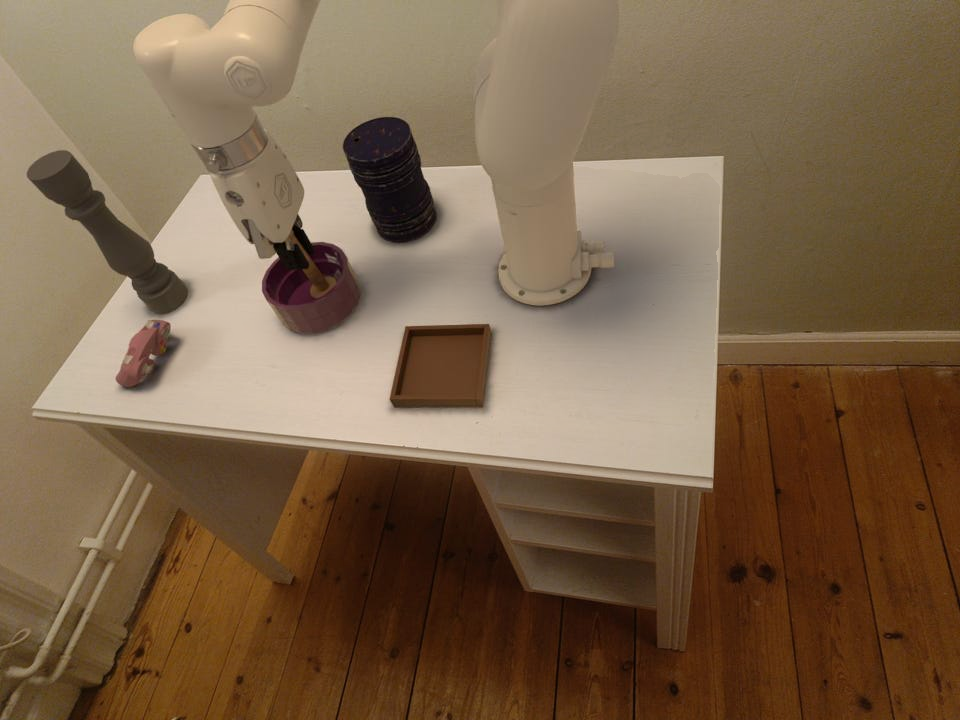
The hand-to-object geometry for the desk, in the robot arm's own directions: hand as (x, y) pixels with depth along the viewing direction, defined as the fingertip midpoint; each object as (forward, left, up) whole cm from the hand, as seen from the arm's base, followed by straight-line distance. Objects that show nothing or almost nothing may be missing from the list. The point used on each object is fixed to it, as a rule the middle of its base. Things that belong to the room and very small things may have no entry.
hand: (300, 259), depth 81 cm
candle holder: (+27, -2, -9) cm, 28 cm away
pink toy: (+24, +10, -9) cm, 27 cm away
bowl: (+1, 0, -9) cm, 9 cm away
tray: (-19, +12, -9) cm, 24 cm away
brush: (-1, 0, -8) cm, 8 cm away
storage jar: (-9, -16, -9) cm, 21 cm away
